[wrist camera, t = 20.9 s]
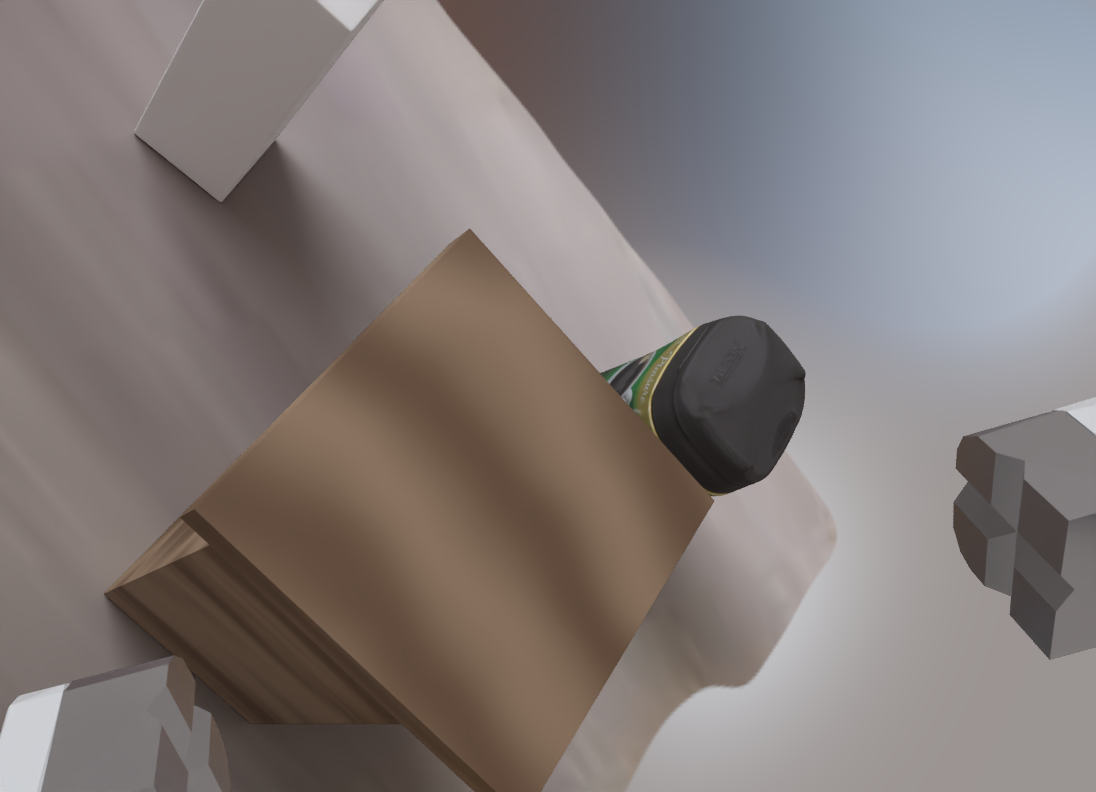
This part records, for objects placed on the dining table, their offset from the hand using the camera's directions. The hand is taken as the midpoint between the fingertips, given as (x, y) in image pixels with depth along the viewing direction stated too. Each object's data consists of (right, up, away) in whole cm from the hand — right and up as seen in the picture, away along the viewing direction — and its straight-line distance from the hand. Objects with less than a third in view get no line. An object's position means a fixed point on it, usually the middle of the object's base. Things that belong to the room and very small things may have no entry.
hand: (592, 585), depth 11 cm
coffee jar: (0, -2, +59) cm, 59 cm away
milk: (-20, +17, +50) cm, 57 cm away
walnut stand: (-17, -8, +45) cm, 49 cm away
